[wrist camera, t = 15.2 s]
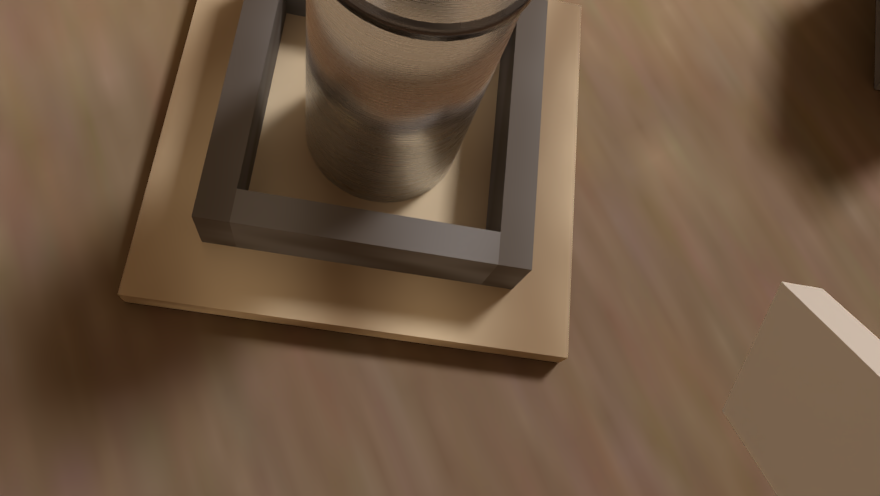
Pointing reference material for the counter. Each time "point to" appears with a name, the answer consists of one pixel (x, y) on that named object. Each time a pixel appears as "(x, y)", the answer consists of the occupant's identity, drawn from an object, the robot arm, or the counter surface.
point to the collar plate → (354, 219)
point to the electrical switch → (877, 47)
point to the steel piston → (397, 87)
